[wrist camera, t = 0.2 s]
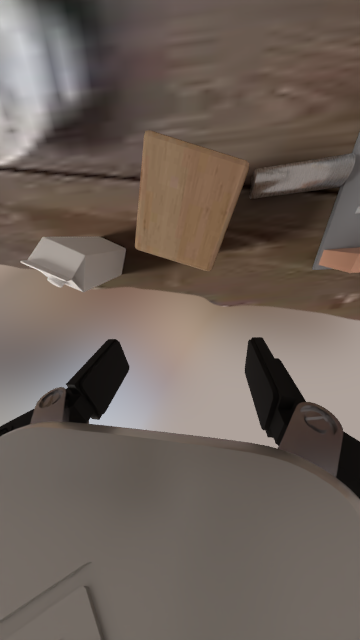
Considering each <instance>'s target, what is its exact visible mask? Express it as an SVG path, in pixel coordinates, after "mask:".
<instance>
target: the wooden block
mask: <svg viewBox="0 0 360 640" xmlns="http://www.w3.org/2000/svg"><path fill="white" fill-rule="evenodd" d="M248 171H249V163H248V162H247V161H246V160H243V159H239V158H236V157H233V156H230V155H227V154H224V153H220V152H217V151H214V150H211V149H208V148H204V147H201V146H198V145H195V144H192V143H188V142H185V141H182V140H179V139H176V138H172V137H169V136H166V135H163V134H160V133H157V132H153V131H150V130H148V131H145V134H144V144H143V156H142V167H141V179H140V191H139V203H138V215H137V227H136V238H135V248H136V249H138V250H140V251H143V252H146V253H150V254H153V255H156V256H159V257H163V258H166V259H169V260H172V261H176V262H179V263H182V264H185V265H189V266H192V267H195V268H198V269H202V270H205V271H211V270H212V268H213V266H214V263H215V260H216V258H217V255H218V252H219V250H220V247H221V244H222V241H223V239H224V236H225V233H226V230H227V228H228V225H229V222H230V220H231V217H232V214H233V211H234V209H235V206H236V203H237V201H238V198H239V195H240V192H241V190H242V187H243V184H244V182H245V179H246V176H247V173H248Z"/></svg>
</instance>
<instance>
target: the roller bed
mask: <svg viewBox="0 0 360 640" xmlns="http://www.w3.org/2000/svg"><path fill="white" fill-rule="evenodd" d="M352 153H353V154H355V164H354V167H353V170H352V172H351V174H350V175H349V177H348V178H347V180H346V181H345V182H344V183H343V184H342V185H341V187H340V190H339V192H338V195H337V198H336V201H335V204H334V207H333V210H332V213H331V216H330V218H329V221H328V224H327V227H326V230H325V233H324V236H323V239H322V242H321V244H320V247H319V250H318V253H317V256H316V259H315V262H314V265H313V268H312V269H313V270H319V269H337V270H341V271H345V272H349V273H355V272H360V132H359V135H358V138H357V141H356V143H355V146H354V149H353V152H352Z"/></svg>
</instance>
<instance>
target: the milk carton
mask: <svg viewBox="0 0 360 640" xmlns="http://www.w3.org/2000/svg"><path fill="white" fill-rule="evenodd" d="M125 253H126V248H124V247H122V246H119V245H117V244H115V243H113V242H111V241H108V240H106V239H104V238H102V237H43V238H42V239H41V241H40V242H39V244H38V245H37V247H36V248H35V250H34V251H33V253H32V254H31V256H30V257H29V259H28V260H25V261H20V262H21V263H23V264H25V265H27V266H30V267H32V268H34V269H37V270H39V271H40V272H42V273H43V274H44V275H45V276H47V277H48V279H47V280H48V281H49V282H50V283H52V284H53V285H55V286H57V287H62V286H63V285H64V284H66V285H68V286H70V287H72V288H75V289H77V290H80V291H82V292H85V291H87V290H90V289H92V288H94V287H96V286H98V285H100V284H103V283H105V282H107V281H109V280H111V279H113V278H115V277H118V276H120V275H122V269H123V264H124V258H125Z"/></svg>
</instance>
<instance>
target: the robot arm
mask: <svg viewBox="0 0 360 640" xmlns="http://www.w3.org/2000/svg"><path fill="white" fill-rule="evenodd" d="M128 370H129V365H128V362H127V360H126V357H125V355H124V352H123V350H122V347H121V345H120V342H118V341H117V340H116V339H109V340H107V341H106V342H105V343H104V344H103V345H102V346H101V348H100V349H99V350H98V351H97V352H96V353H95V354H94V355H93V356H92V357H91V358H90V359H89V360H88V362H86V364H85V365H84V366H83V367H82V368H81V369H80V370H79V371H78V372H77V373H76V374H75V375H74V376H73V377H72V378H71V379H70V381H69V382H68V383H67V384H66V385H67V386H68V388H67V389H65V388H63V387H59V388H55V389H53V390H51V391H49V392H48V393H46V394H45V395H44V396H43V397H42V398H40V400H39V401H38V402H37V404H36V406H35V409H33V410H31V411H29V412H27V413H25V414H23V415H21V416H19V417H17V418H16V419H14V420H12V421H10V422H8V423H6V424H4V425H2V426H1V427H0V640H360V442H359V441H358V440H356V439H355V438H353V437H351V436H349V435H348V434H347V433H345V432H343V428H342V426H341V424H340V422H339V421H338V419H337V418H336V417H335V416H334V415H333V414H332V413H331V412H329V411H328V410H327V409H325V408H323V407H322V406H320V405H317V404H315V403H311V402H306V401H305V399H304V398H303V396H302V394H301V393H300V391H299V389H298V388H297V387H296V385H295V383H294V381H293V380H292V378H291V377H290V375H289V373H288V372H287V370H286V368H285V367H284V365H283V364H282V362H281V361H280V360H279V359H275V358H274V357H273V355H272V353H271V352H270V350H269V348H268V346H267V345H266V343H265V341H264V340H263V338H260V337H259V338H252V339H251V340H249V341H248V349H247V357H246V364H245V374H246V378H247V381H248V385H249V388H250V391H251V395H252V398H253V401H254V405H255V408H256V411H257V415H258V418H259V421H260V425H261V428H262V429H263V430H266V433H267V436H268V437H272V438H274V440H275V443H276V444H277V445H278V446H279V447H278V449H276V448H273V447H269V446H264V445H258V444H253V443H248V442H240V441H233V440H226V439H218V438H210V437H201V436H193V435H184V434H176V433H167V432H158V431H149V430H140V429H131V428H122V427H112V426H104V425H93V424H89V419H90V418H92V419H98V420H99V419H100V417H101V416H102V414H104V413H105V411H106V410H107V408H108V406H109V404H110V403H111V401H112V399H113V397H114V396H115V394H116V392H117V390H118V389H119V387H120V385H121V383H122V382H123V380H124V378H125V376H126V374H127V373H128Z"/></svg>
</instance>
